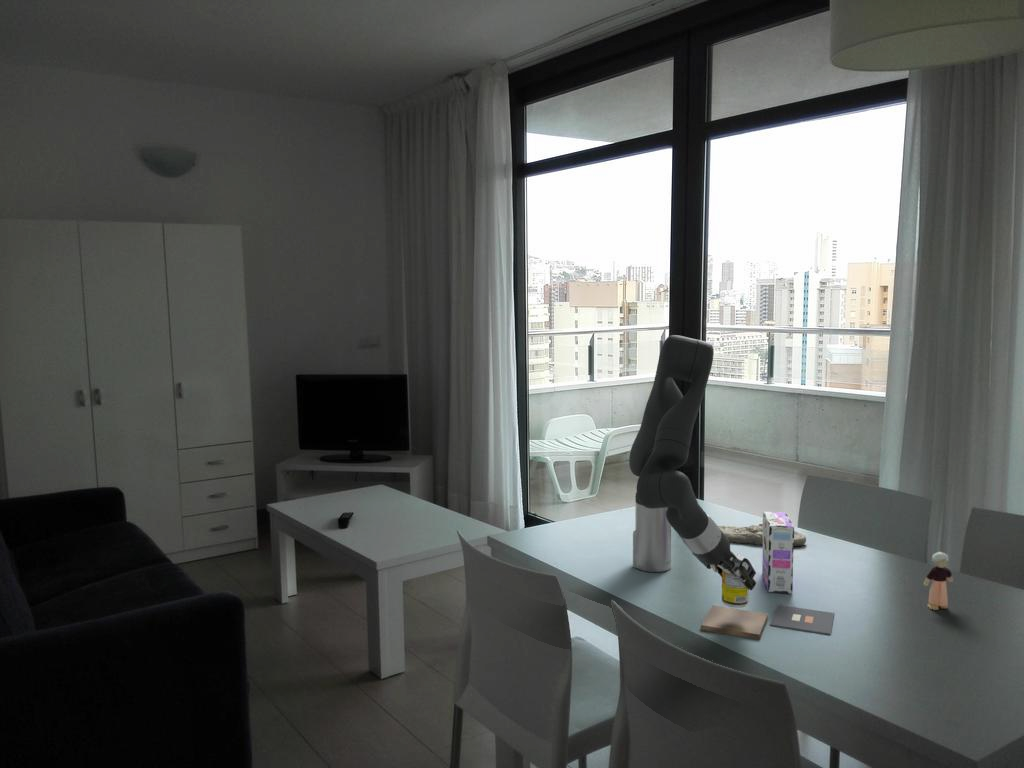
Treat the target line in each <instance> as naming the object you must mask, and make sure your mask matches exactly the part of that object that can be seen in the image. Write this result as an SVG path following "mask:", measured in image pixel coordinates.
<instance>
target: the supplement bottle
mask: <svg viewBox="0 0 1024 768" xmlns="http://www.w3.org/2000/svg"><path fill="white" fill-rule="evenodd" d="M734 555H735V556H736V557H737V558H738V559H739V560H741V561H742V560H743V559H744V558H746V557H745V556H742V555H739V554H734ZM735 567H736V565H735V566H734V568H735ZM734 568H733V569H732V571H733V570H734ZM739 574H740V575H741V576H742V574H741V572H739ZM749 592H750V591H749V589H747V587H746V586H745V585H744V584H743V583H742V581H741V580H740V579H739V578H737V577H736V576H731V575H730V574H729V573H728V572H727V571H725V570H724V569H722V577H721V602H722V604H723V605H725V606H727V607H728V608H734V609H740V608H745V607H746V606H748V604H749V601H750V600H749V599H750V598H749V596H750V594H749Z"/></svg>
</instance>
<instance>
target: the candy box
mask: <svg viewBox="0 0 1024 768" xmlns="http://www.w3.org/2000/svg"><path fill="white" fill-rule="evenodd" d="M762 524H763V545H762V562H761V563H762V569H761V572H762V573H761V574H762V575H761V576H762V577H763V581H764V583H765V585H766V589H767V593H776V594H777V593H779V594H782V593H783V594H793V588H794V587H793V586H794V585H793V584H794V583H793V582H794V581H793V580H794V550H795V549H794V548H795V546H794V531H795V526H794V524H793V522H792V521H791V519H790V517H789V515H788V514H787V512H784V511H783V512H782V511H763V512H762Z"/></svg>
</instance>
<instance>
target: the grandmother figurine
mask: <svg viewBox="0 0 1024 768" xmlns="http://www.w3.org/2000/svg"><path fill="white" fill-rule="evenodd" d="M931 559H932V562H933V563H934V565H935V566H933V567H932V568H931V570H930V571H928V572H929V573H928V574H927V575H926V577H925V579H924V581H923V586H924V587H928V586H929V585H930V583H931V582H932V583H931V585H930V589H929V592H928V593H929V594H928V601H927V602H928V604H926V607H927V608H928V607H929V608H928V609H930V610H932V609H933V611H938V610H939V609H948V590H947V581H948V582H949V583H953V582H954V578H953V575H952V572H951V570H950V569H949V568H947V566H948V561H949V555H948V554H946V553H945V552H942V551H938V552H935V553H933V555H932V556H931ZM939 607H940V608H939Z"/></svg>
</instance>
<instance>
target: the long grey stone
mask: <svg viewBox="0 0 1024 768" xmlns="http://www.w3.org/2000/svg"><path fill="white" fill-rule="evenodd" d="M717 526H718V527H719V528H720V529H721V531H722V532H723V533H724V534H725V535H726V537H727V538H728V540H729V542H730V543H734V542H737V543H736V544H751V545H752V544H754V545H757V544H758V545H757V546H763V523H760V524H758V525H755V524H753V525H750V526H743V527H742V526H741V527H738V526H728V525H727V526H726V525H717ZM806 543H807V536H806V535H805V534H803V533H800V532H797V531H795V530H794V547H797V546H804V545H805V544H806Z"/></svg>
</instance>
